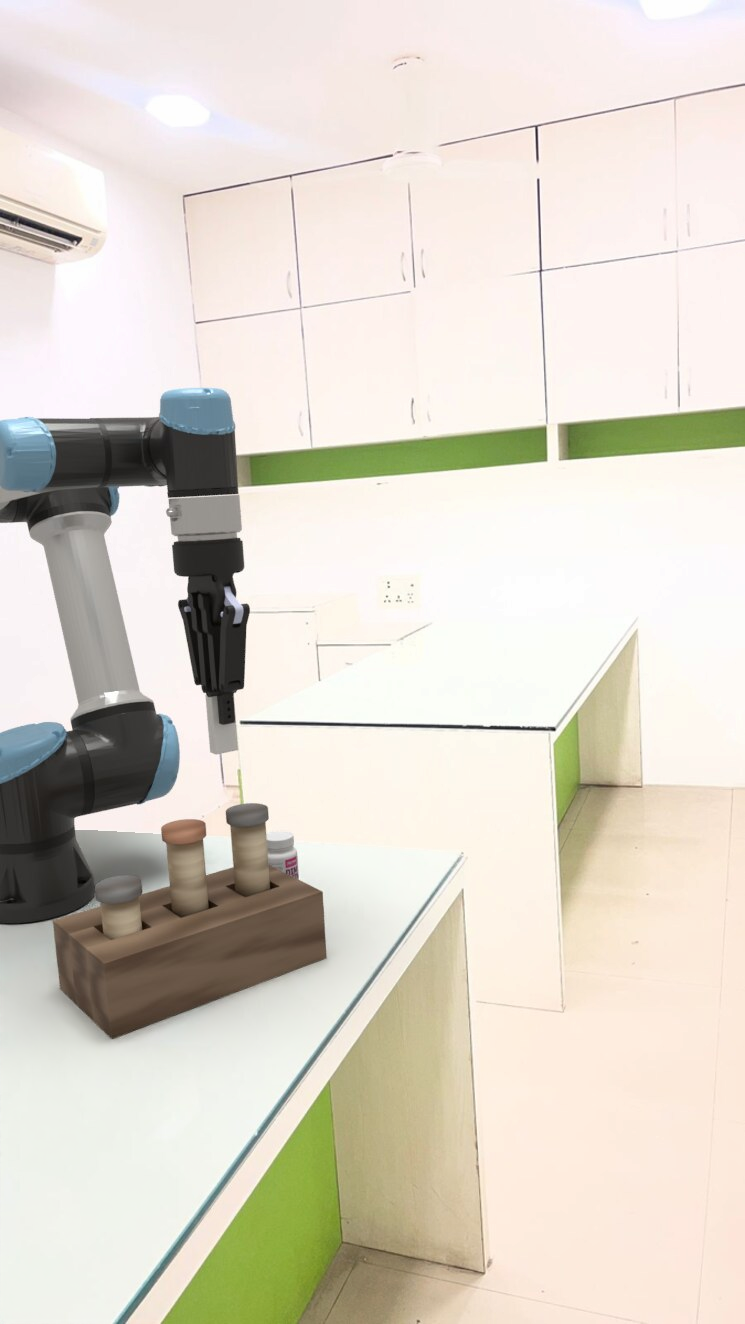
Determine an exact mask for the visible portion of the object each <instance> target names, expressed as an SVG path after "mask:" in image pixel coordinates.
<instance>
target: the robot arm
mask: <svg viewBox="0 0 745 1324" xmlns="http://www.w3.org/2000/svg"><path fill="white" fill-rule="evenodd" d="M231 400H232V399H231V397H230V394H229V393H228V392H227V391H225V390H224V389H222V388H216V387H187V388H176V389H171V390H166V391H165V392H163V393H162V394H161V396H160V401H159V413H158V416H156V417H155V416H153V417H149V416H147V417H146V416H145V417H90V418H53V417H52V418H45V417H44V418H41V417H39V418H38V417H37V418H35V417H33V416H25V417H19V418H7V419H1V420H0V524H8V523H10V524H13V523H26V524H27V528H28V533H29V534H28V535H29V537H30V538H31V539H32V540H33V541H34V542H37V543H39V544H40V545H41V546H43V549H44V554H45V559H46V563H47V567H48V572H49V576H50V581H51V585H52V586H51V587H52V589H53V595H54V599H55V604H56V609H57V613H58V618H59V623H60V627H61V630H62V631H61V632H62V635H63V640H64V645H65V650H66V653H67V658H68V664H69V668H70V672H71V676H72V682H73V685H74V686H73V687H74V690H75V695H76V699H77V703H78V705H77V708H76V709H75V711H74V712H73V714H72V716H71V717H70V725H71V728H72V729H71V730H68V731H67V729H66V728H65V727H64V725H63V724H61V723H60V722H58V721H57V722H56V721H44V722H38V723H28V724H24V725H20V726H16V727H13V728H10V729H7V730H3V731H1V732H0V923H2V924H21V923H22V924H24V923H31V922H32V923H33V922H38V921H45V920H49V919H53V918H56V917H59V916H63V915H66V914H69V913H70V912H73V911H76V910H77V909H80V908H81V907H83V906H84V905H86V904H87V903H89V902H90V901H91V900H92V899H93V897H95V895H96V894H95V879H94V875H93V873H92V870H91V867H90V866H89V864H88V862H87V859H86V857H85V855H84V853H83V851H82V848H81V847H80V844H79V842H78V840H77V836H76V827H75V826H76V825H75V818H78V817H82V816H87V815H92V814H97V813H101V812H105V811H109V810H115V809H119V808H123V807H128V806H132V805H143V804H144V803H146V802H149V801H153V800H156V799H160V798H163V797H165V796H167V795H168V794H169V793H170V792H171V791H172V790H173V788H174V786H175V783H176V782H177V778H178V775H179V770H180V760H181V757H180V755H181V754H180V753H181V752H180V751H181V750H180V742H179V735H178V732H177V728H176V725H175V724H173V720H172V719H171V717H170V716H169V715H167V714H163V713H157V711H156V706H155V702H154V700H153V699H151V698H150V697H149V696H147V695H145V694H143V692H141V691H140V685H139V682H138V677H137V674H136V668H135V664H134V660H133V659H134V658H133V656H132V651H131V645H130V643H129V639H128V634H127V633H128V632H127V630H126V626H125V621H124V616H123V613H122V608H121V603H120V599H119V595H118V590H117V587H116V582H115V578H114V577H115V576H114V573H113V569H112V568H113V567H112V565H111V559H110V556H109V551H108V548H107V547H108V546H107V543H106V539H105V533H107V530H108V529H109V528H110V526H112V524H113V523H112V516H114V515H115V514H116V512H117V511H118V509H119V505H120V493H119V491H118V490H119V488H120V487H121V488H123V487H148V488H149V487H151V488H153V487H165V486H166V487H167V488H166V490H167V498H168V507H167V508H166V510H165V513H166V516H167V517H169V519H170V520H169V521H170V522H169V523H170V531H171V533H170V534H171V535H173V537H177V541H173V544H171V550H172V560H173V561H172V562H173V571H174V574H175V575H176V576H178V577H183V578H184V577H187V588H186V591H187V597H186V598H185V599H178V602H177V605H178V607H177V608H178V609H179V610H178V611H179V612H180V613H179V614H180V616H181V619H182V622H183V628H184V633H185V637H186V638H185V639H186V644H187V649H188V655H189V659H190V666H191V671H192V675H193V681H194V685H195V686H201V687H200V688H201V692H202V693H203V694H205V695H204V696H205V704H206V708H205V709H206V717H207V719H206V720H207V731H208V732H207V733H208V741H209V742H208V743H209V752H210V753H211V754H213V755H222V754H226V753H231V752H235V751H239V745H238V743H239V742H238V733H237V720H236V719H237V718H236V707H235V693H237V692H238V691H239V690H243V689H244V687H245V675H246V650H247V626H248V622H249V618H250V617H249V616H250V613H251V608H250V605H249V604H248V603H240V602H239V600H238V599H237V588H236V586H235V585H236V584H235V580H234V575H235V574H239V573H241V572H243V571H244V569H245V558H244V557H245V555H244V543H243V542H244V541H243V540H241V537H238V533H241V532H242V530H243V529H242V528H243V527H242V526H243V525H242V515H241V514H242V513H241V512H242V511H241V501H240V500H241V497H240V494H239V479H238V477H239V476H238V462H237V445H236V422H235V420H234V415H233V409H232V407H233V406H232V401H231Z"/></svg>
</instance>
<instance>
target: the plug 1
mask: <svg viewBox="0 0 745 1324" xmlns="http://www.w3.org/2000/svg"><path fill="white" fill-rule="evenodd" d="M142 883H143V882H142V879H141V878H140V877H139V876H135V875H129V874H127V875H116V876H111V877H107V878H104V879H101V880H100V881H98V882H97V883H96V884H94V888H95V894H94V895H95V900H96V901H97V902H99V903H100V906H101V914H102V924H103V934H104V935H105V936H106V937H107V938H109V939H110V940H113V939H116V938H119V937H122V936H126V935H129V934H132V933H135V932H138V931H141V930H142V922H141V912H140V901H139V896H140V895H141V894H143V892H144V891H143V884H142Z"/></svg>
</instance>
